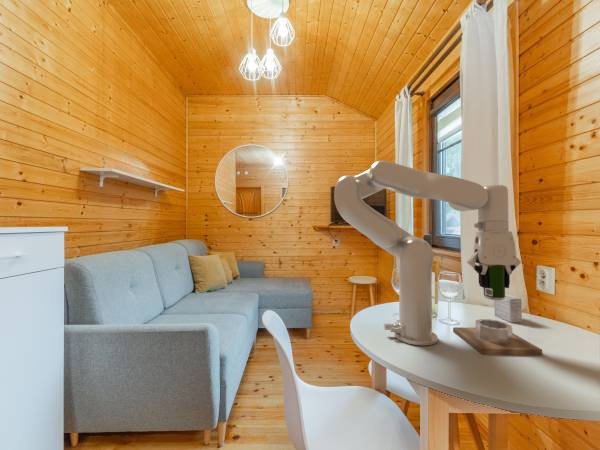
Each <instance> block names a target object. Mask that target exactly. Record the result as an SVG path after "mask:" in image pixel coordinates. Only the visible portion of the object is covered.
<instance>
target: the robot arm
mask: <svg viewBox="0 0 600 450" xmlns="http://www.w3.org/2000/svg"><path fill="white" fill-rule="evenodd" d="M384 189H385V190H388V191H391V192H393V193H398V194H401V195H404V196H408V197H411V198H414V199H423V200H424V199H425V200H426V199H427V200H437V201H439V202H440V201H441V202H445V203H448V205H449V207H450V208H451V209H453V210H454V211H458V212H467V211H475V210H476V211H477V216H478V219H477V223H474V226H473V227H474V228H475V229H477V230H478V231H476V233H475V236H474V242H473V255H472V256H471V257H470V258H469V259H468V260H467V262H466V263H467V265H469V266H470V267H472V269H473V270H474V271H475V272H476V273H477V274H478V284H479V287H481V288H483V289H484V288H488V275H486V271H487V268H488V266H495V265H505V289H509V288H510V284H511V283H510V282H511V279H510V276H512V273H513V271H514V270H516V268H517V267H518V266H520V265H521V264H522V262H521V260H520V259H519V258H518V257H517V252H516V244H515V243H516V242H515V238H514V234H513V231H510V230H509V228H510V227H509V223H510V222H509V221H510V220H509V189H508V186H506V185H503V184H493V185H492V184H491V185H486V186H483V185H481V184H479V183H477V182H475V181H470V180H467V179H464V178H460V177H457V176H453V175H447V174H441V173H435V172H430V171H423V170H420V169H416V168H413V167H410V166H406V165H402V164H399V163H395V162H394V161H393V162H392V161H388V160H382V159H381V160H378V161H375V162H374V163H373V164H371V166H370V168H369V169H368V170H366V171H364V172H362V173H360V174H358V175H351V174H350V175H348V174H347V175H344V176H341V177H340V178H339V179H338V180H337V181H336V183H335V186H334V191H333V193H334V194H333V199H334V204H335V207H336V210H337V212H338V214H339V215H340V217H341V218H342V219H343V220H344V221H345V222H346V223H348V225H350V226H351V227H353V228H354V229H356V230H357V231H358V232H360V233H361V234H362V235H364V236H365V237H367V238H368V239H369V240H370V241H372V243H374V244H375V245H376V246H378V247H380V248H381V249H382V250H384V251H386V252H387V253H389V254H390V255H391V256H393V257H395V258H396V259H398V260H399V272H398V274H399V275H398V288H399V289H398V290H399V291H398V292H399V293H398V296H399V301H398V302H399V303H398V305H399V307H398V308H399V309H398V310H399V319H396V322H394V323H384V324H383V329H384V331H390V333H394V337H395V338H396V339H397V340H398V341H401V342H403V343H405V344H408V345H414V346H432V345H435V344H436V343H437V342H438V335H437V334H436V333H435V332H433V303H432V302H433V301H432V300H433V298H432V297H433V294H432V293H433V292H432V291H433V289H432V284H433V282H432V280H433V278H432V275H433V266H434V252H433V248H432V246H431V245H430V244H429V242H428V241H426V240H425V239H424V238H421V237H417V236H414V235H413V234H411V233H410V232H408V231H406V229H405V230H404V229H403V228H402V227H400V226H399V225H398V224H397V222H395V221H394V220H392V219H390V218H388V217H386V216H385V215H383V214H381V213H380V212H379V211H377V210H375V209H374V208H373V207H371V206H370V205H369V204H367V203H366V202H365V200H363V199H366V198H367V197H369V196H371V195H374V194H376V193H378V192H381V191H383V190H384Z"/></svg>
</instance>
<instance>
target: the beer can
mask: <svg viewBox="0 0 600 450" xmlns="http://www.w3.org/2000/svg"><path fill="white" fill-rule="evenodd" d="M486 275H488V288H483V297H484V298H485V299H488V300H493V301H495V300H504V298H505V294H506V288H505V265H495V266H488V268H487V271H486Z"/></svg>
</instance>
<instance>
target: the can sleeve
mask: <svg viewBox="0 0 600 450" xmlns="http://www.w3.org/2000/svg"><path fill="white" fill-rule="evenodd" d="M475 328H476V336H477V337H478V338H480V339H482V340H485V341H488V342H492V343H498V344H508V343H511V342H512V333H513V327H512V325H511V324H509V323H507V322H504V321H501V320H496V319H489V318H480V319H476V320H475Z"/></svg>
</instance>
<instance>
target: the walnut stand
mask: <svg viewBox="0 0 600 450" xmlns="http://www.w3.org/2000/svg"><path fill="white" fill-rule="evenodd" d="M452 329H453V330H452V331H453V334H455V335H457V337H459V338H461V339H462V340H463V341H464V342H465V343H467V345H469V346H470V347H472V348H473V349H474V350H476V351H477V352H478V353H479V354H481V355H503V356H504V355H505V356H507V355H508V356H509V355H510V356H512V355H513V356H522V355H523V356H542V355H543V349H541V348H540V347H539V346H536V345H535V344H533V343H532V342H530V341H527V340H526V339H524V338H522V337H520V336H519V335H517V334H515V333H513V332H512V342H511V343H508V344H498V343H492V342H488V341H485V340H482V339H480V338H478V337H477V336H476V327H461V326H460V327H453V328H452Z"/></svg>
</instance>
